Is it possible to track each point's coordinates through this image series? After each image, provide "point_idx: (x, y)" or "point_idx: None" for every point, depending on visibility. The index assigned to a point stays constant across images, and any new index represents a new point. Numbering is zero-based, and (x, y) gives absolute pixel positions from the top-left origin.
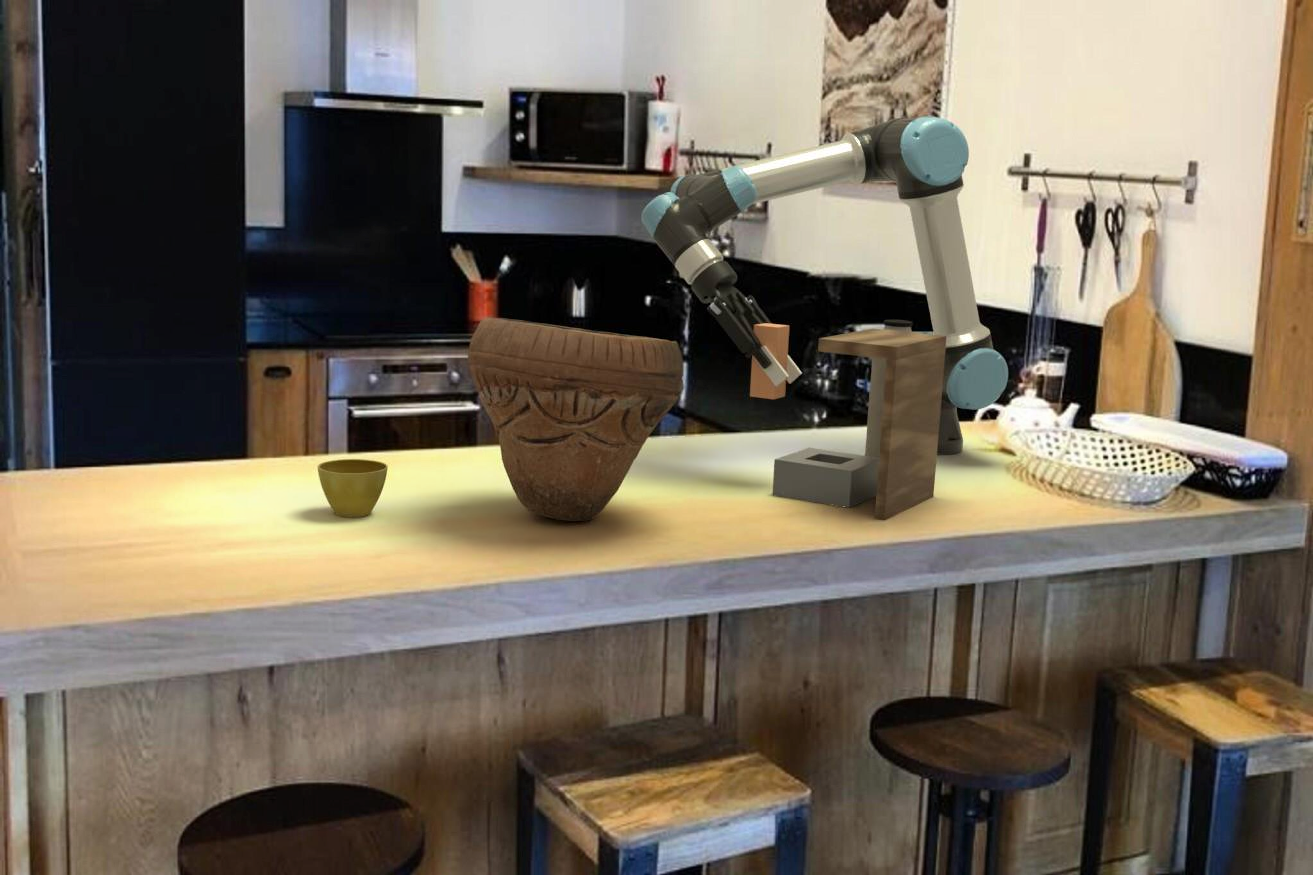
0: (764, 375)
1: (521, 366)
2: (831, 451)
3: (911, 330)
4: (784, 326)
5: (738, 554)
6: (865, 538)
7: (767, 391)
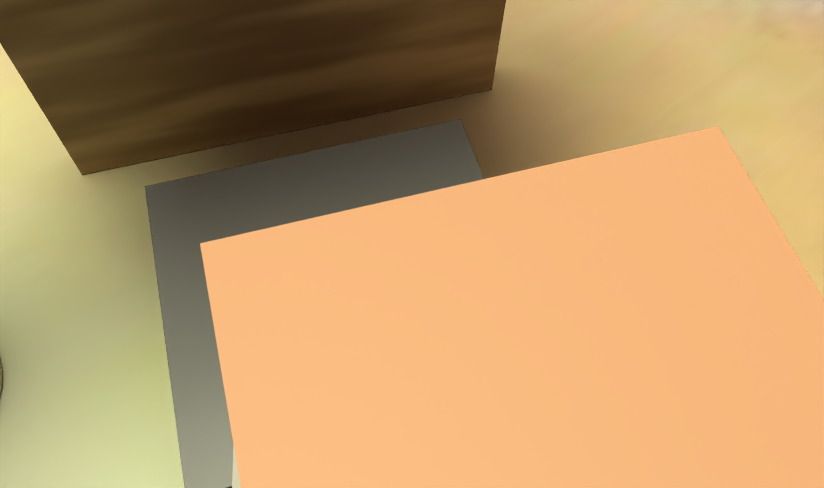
0: None
1: None
2: (186, 393)
3: None
4: (440, 189)
5: None
6: (671, 2)
7: None
